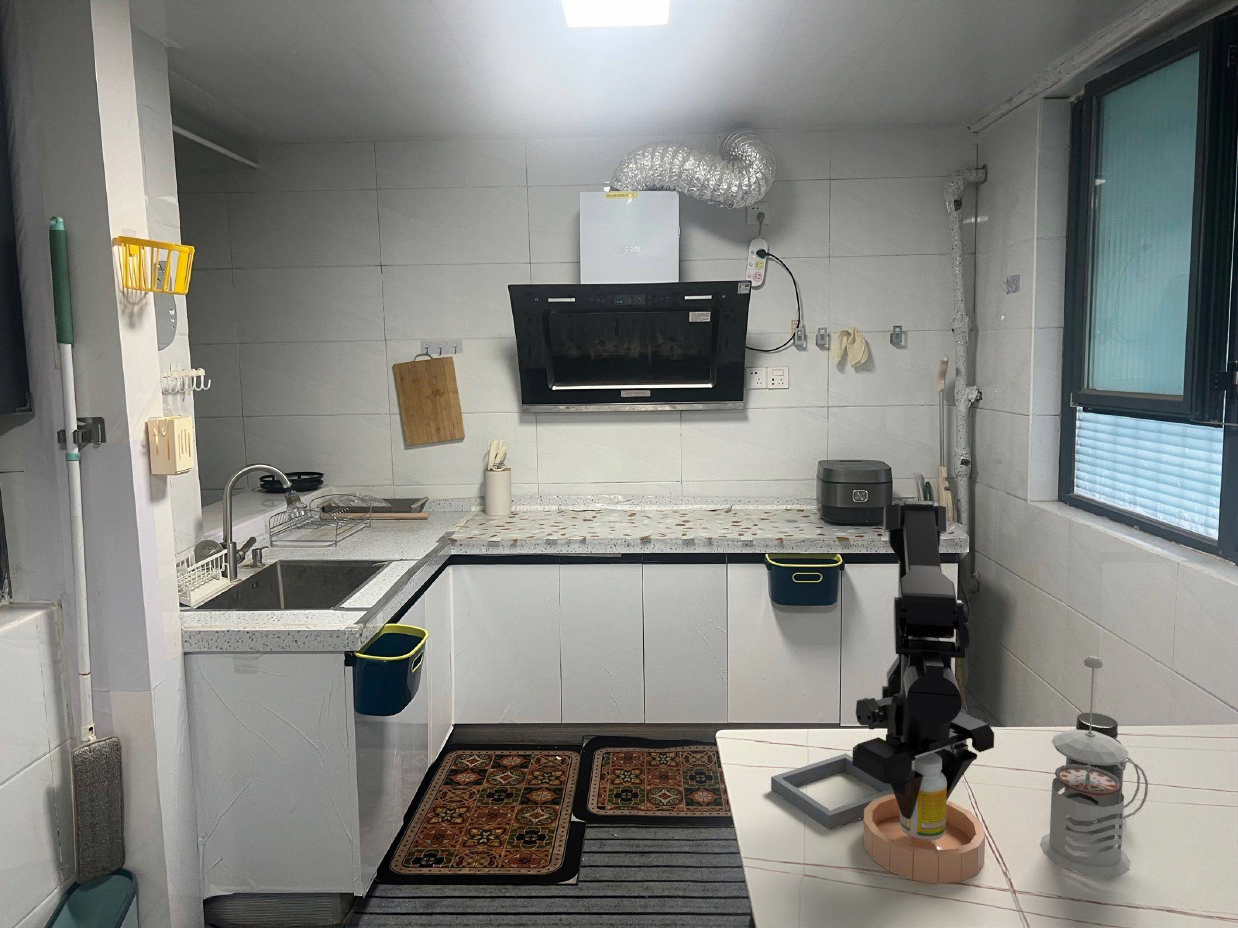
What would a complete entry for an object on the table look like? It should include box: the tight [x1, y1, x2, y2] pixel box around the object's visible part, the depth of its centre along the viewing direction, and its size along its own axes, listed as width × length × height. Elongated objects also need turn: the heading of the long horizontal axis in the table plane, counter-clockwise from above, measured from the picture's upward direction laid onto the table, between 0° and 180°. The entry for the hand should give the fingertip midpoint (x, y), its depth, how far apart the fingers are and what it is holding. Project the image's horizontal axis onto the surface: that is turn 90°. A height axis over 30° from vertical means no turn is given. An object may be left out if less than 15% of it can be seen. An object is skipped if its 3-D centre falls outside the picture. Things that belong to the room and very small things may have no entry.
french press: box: [1039, 655, 1149, 878], centre depth 103 cm, size 10×12×25 cm
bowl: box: [863, 794, 986, 885], centre depth 106 cm, size 14×14×4 cm
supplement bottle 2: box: [1063, 712, 1125, 805], centre depth 115 cm, size 7×7×12 cm
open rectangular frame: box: [770, 752, 894, 831], centre depth 119 cm, size 14×12×2 cm
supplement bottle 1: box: [900, 752, 947, 841], centre depth 105 cm, size 5×5×10 cm
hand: (922, 810), depth 105 cm, fingers closed on supplement bottle 1, 5 cm apart
